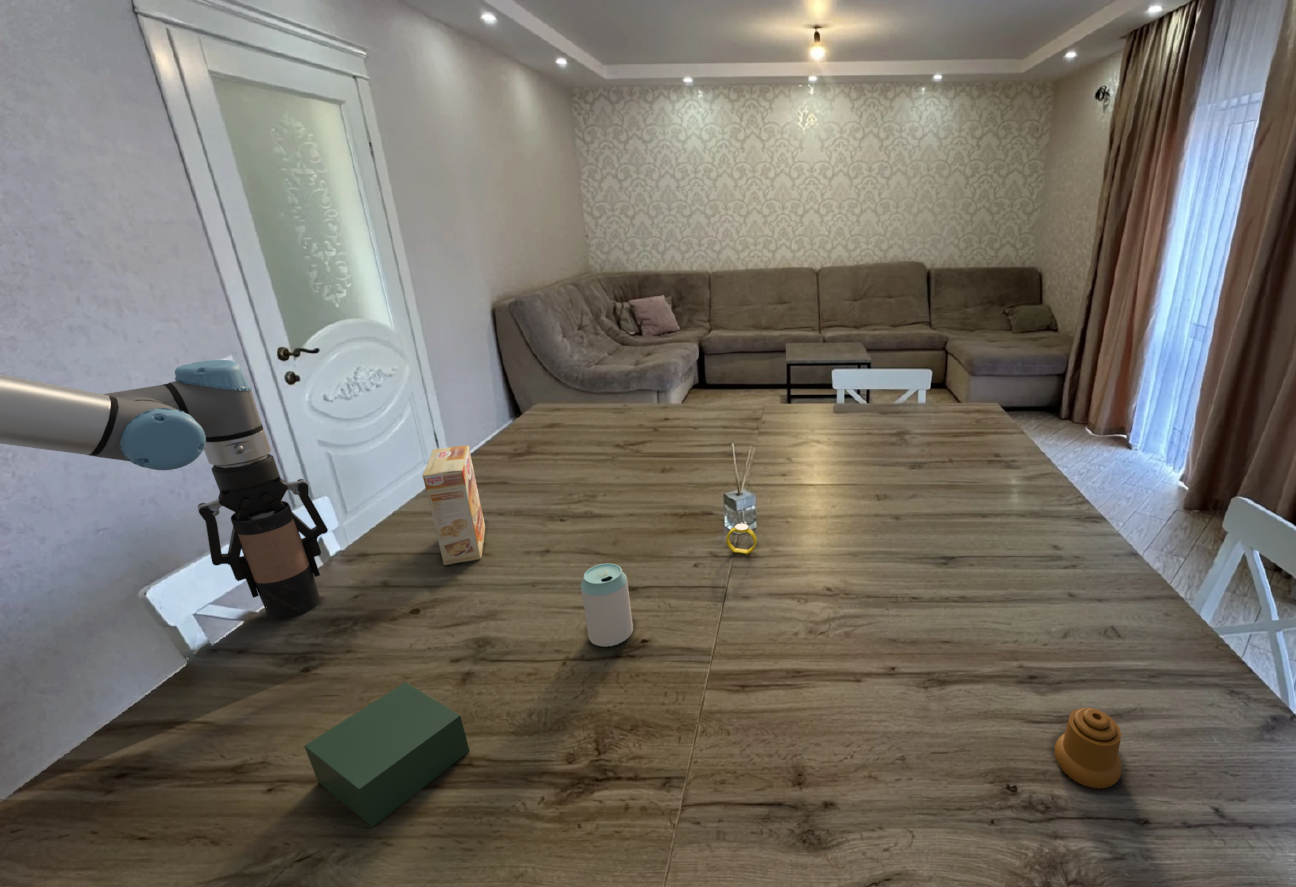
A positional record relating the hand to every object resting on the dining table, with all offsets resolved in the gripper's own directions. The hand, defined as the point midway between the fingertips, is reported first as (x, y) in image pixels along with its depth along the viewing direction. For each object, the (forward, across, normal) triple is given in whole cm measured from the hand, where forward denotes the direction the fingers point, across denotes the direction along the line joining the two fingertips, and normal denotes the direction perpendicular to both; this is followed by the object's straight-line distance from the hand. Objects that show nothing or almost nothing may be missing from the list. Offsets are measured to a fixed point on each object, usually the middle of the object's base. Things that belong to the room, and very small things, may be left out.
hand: (286, 583), depth 103 cm
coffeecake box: (+6, +29, +3) cm, 30 cm away
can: (+6, +35, -45) cm, 57 cm away
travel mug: (+6, 0, 0) cm, 6 cm away
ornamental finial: (+6, +63, -110) cm, 127 cm away
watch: (+6, +67, -41) cm, 79 cm away
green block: (+6, +3, -48) cm, 48 cm away
